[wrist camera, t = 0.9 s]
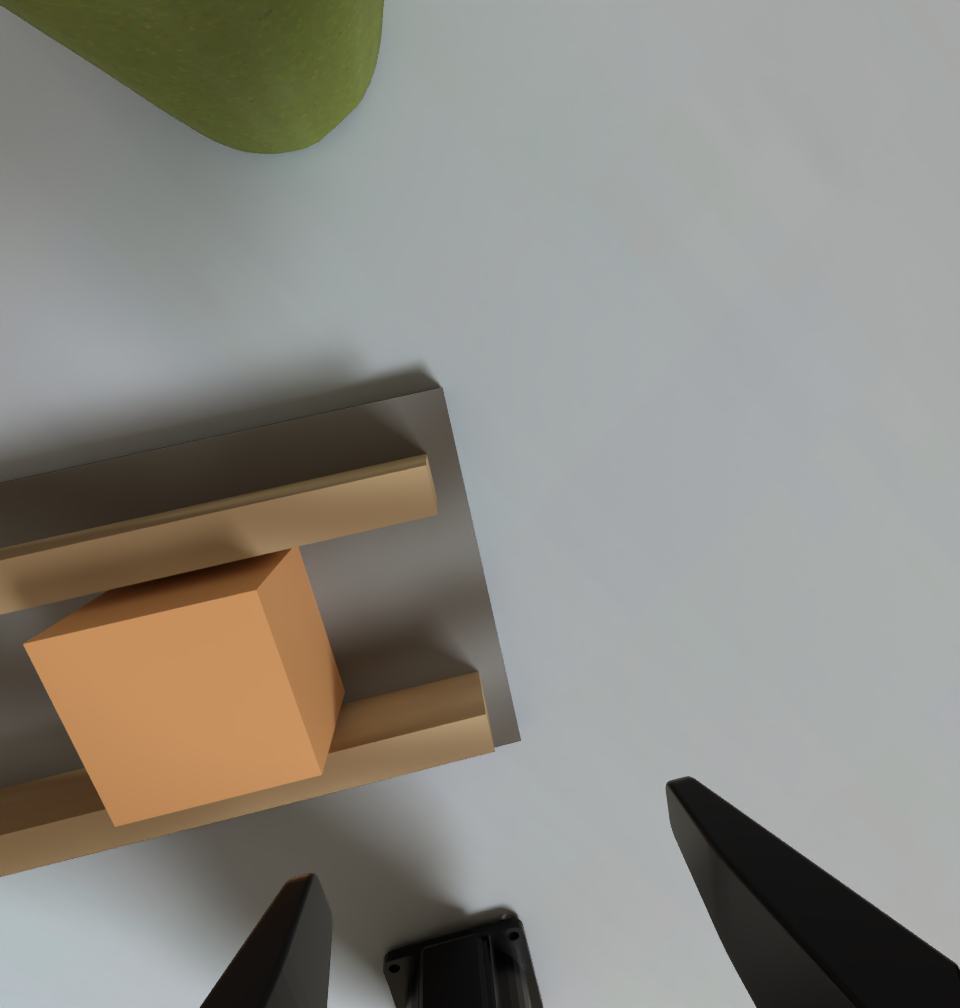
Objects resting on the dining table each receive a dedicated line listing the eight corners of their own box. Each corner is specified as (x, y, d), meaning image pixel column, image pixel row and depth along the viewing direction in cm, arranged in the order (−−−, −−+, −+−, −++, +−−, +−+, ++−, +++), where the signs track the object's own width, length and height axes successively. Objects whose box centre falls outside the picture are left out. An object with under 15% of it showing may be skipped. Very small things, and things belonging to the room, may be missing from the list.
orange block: (345, 691, 18) (322, 774, 14) (183, 730, 18) (114, 827, 14) (297, 542, 17) (256, 589, 13) (120, 582, 16) (23, 643, 12)
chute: (517, 727, 20) (533, 791, 17) (-319, 937, 19) (-475, 1052, 15) (442, 387, 17) (444, 387, 13) (-596, 612, 15) (-872, 672, 12)
